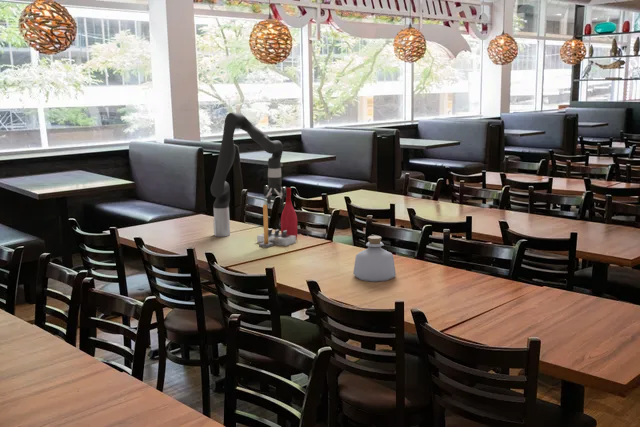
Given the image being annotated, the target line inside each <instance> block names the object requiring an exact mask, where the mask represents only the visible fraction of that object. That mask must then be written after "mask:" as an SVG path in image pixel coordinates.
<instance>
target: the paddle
mask: <svg viewBox="0 0 640 427" xmlns="http://www.w3.org/2000/svg"><path fill="white" fill-rule="evenodd" d="M273 230H274V229H273V228H268V235H269V234H271V233H273Z"/></svg>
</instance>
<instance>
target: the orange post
mask: <svg viewBox="0 0 640 427" xmlns="http://www.w3.org/2000/svg"><path fill="white" fill-rule="evenodd" d="M262 212H263V213H262V214H263V215H262V217H263V233H264V242H263V243H260V242H259V244H258V247H259V248H267V249H269V248H271V247H274V246H275V244H274V243H271V242H268V229H269V215H268V213H269V212H268V204H263V205H262Z"/></svg>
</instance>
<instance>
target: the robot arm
mask: <svg viewBox="0 0 640 427" xmlns="http://www.w3.org/2000/svg"><path fill="white" fill-rule="evenodd" d="M239 129H240V130H242V131H244V132H246V134H248V135H249V138H250V139H251V140H252V141H253V142H255V143H257V144H258V145H260V147H261V148H262V149H263V151H265V153H268V154H272V155H271V157H269V158H268V159H267V167H268V168H267V169H268V170H267V183H268V184H267V185H264V186H263V196H264V197H266V202H267V205H268V204H269V205H270V204H272V198H271V196H272V195H273V194H274V195H277V196H278V197H279V198H280V199H279V205H280V206H283V205H285V204H284V203H285V199H286V197H287V192H286V188H287V186H282V166H281V165H282V164H281V159H282V156H283V150H284V146H283V143H282V142H281V141H280V140H279V139H278V140H271V139H270V138H271V137H270V136H269V135H268V134H266V133H265V132H264V131H263V130H260V129H259V128H258V127H257V126H255V125H254V124H253V122H251V121H250V120H249V119H248V118H247V117H246V116H245V115H244V114H242V113H240V112H228V113H227V115H226V116H225V119H224V124H223V133H222V138H221V144H220V149H219V152H218V158H217V163H216V167H215V171H214V176H213V178H212V182H211V184H210V193H211V195H212V196H213V197H215V200H214V202H213V206H212V207H213V220H212V222H213V235H214V236H215V237H222V238H223V237H228V236H230V235H231V226H230V225H231V224H230V201H231V190H230V189H231V188H230V184H229V182H227V181H226V180H227V176H228V173H229V172H230V170H231V168H232V167H233V164H234V161H235V156H236V153H237V152H236V146H235V142H234V134H235V130H239Z"/></svg>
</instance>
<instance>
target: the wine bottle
mask: <svg viewBox="0 0 640 427" xmlns="http://www.w3.org/2000/svg"><path fill="white" fill-rule="evenodd" d="M286 192H287V197H285V202H284V203H285V204H284V208H283V210H282V212H281V216H280V234H282V232H283V231H284V230H287V233H286V234H288V235H296V238H297V237H298V216H297V213H296V211H295V208H294V206H293V203H292V198H291V196H292V188H291V187H286Z"/></svg>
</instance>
